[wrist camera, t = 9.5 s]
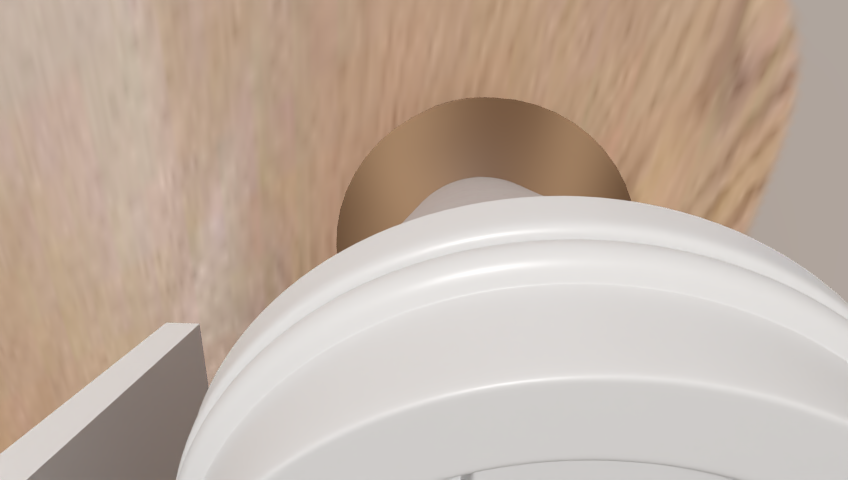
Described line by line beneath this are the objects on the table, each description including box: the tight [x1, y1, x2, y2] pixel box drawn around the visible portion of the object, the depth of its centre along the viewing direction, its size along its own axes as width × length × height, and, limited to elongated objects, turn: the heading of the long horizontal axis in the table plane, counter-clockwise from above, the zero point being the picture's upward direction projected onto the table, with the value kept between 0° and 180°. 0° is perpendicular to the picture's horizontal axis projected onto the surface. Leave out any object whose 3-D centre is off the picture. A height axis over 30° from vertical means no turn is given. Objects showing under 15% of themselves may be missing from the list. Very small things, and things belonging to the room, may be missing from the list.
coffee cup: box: [176, 177, 848, 480], centre depth 11 cm, size 10×10×15 cm
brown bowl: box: [337, 97, 631, 254], centre depth 21 cm, size 12×12×5 cm
